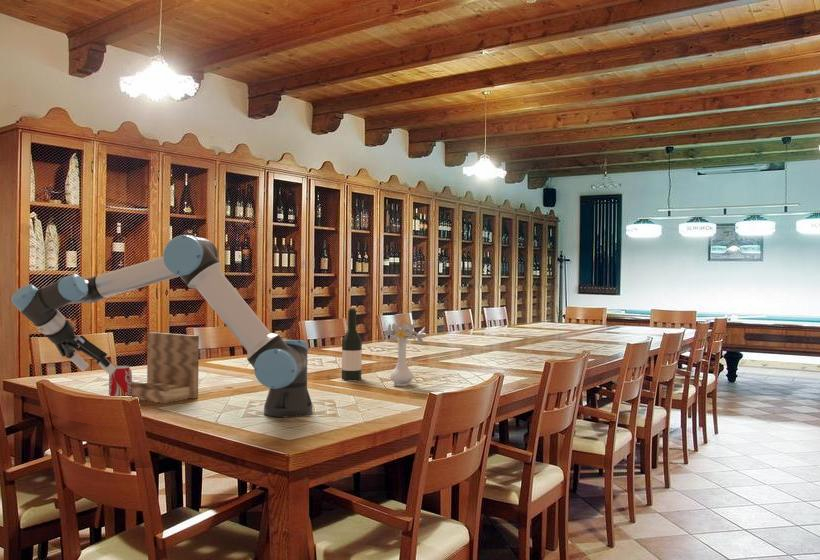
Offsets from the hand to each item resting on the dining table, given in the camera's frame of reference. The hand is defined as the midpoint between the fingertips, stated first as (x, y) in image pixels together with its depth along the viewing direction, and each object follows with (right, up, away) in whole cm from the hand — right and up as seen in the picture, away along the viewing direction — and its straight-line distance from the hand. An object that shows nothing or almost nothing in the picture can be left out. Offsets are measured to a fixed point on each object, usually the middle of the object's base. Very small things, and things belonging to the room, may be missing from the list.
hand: (99, 369), depth 210 cm
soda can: (+4, -12, +6) cm, 14 cm away
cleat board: (+14, -12, +15) cm, 24 cm away
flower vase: (+99, -13, +47) cm, 111 cm away
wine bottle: (+78, -13, +60) cm, 99 cm away
